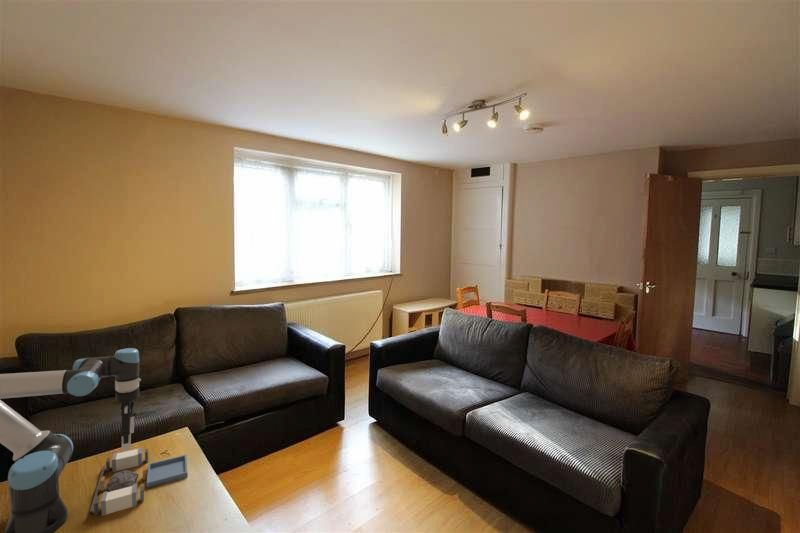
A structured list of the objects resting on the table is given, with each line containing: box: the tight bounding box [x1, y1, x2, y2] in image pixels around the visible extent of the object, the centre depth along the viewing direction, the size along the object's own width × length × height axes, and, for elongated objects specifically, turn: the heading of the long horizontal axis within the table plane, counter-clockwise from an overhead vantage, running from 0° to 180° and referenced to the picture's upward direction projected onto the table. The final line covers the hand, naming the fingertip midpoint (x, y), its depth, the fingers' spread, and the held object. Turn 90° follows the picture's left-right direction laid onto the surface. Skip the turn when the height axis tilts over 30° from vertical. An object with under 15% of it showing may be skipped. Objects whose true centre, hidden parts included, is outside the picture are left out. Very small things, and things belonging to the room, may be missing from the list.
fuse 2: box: [100, 482, 139, 517], centre depth 136 cm, size 10×5×5 cm, turn 121°
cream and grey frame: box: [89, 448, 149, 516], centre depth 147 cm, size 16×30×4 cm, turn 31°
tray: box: [146, 454, 189, 489], centre depth 155 cm, size 14×14×2 cm
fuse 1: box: [111, 446, 144, 473], centre depth 159 cm, size 10×5×5 cm, turn 121°
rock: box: [105, 469, 139, 492], centre depth 147 cm, size 9×11×4 cm
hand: (128, 441), depth 147 cm, fingers open, 13 cm apart
